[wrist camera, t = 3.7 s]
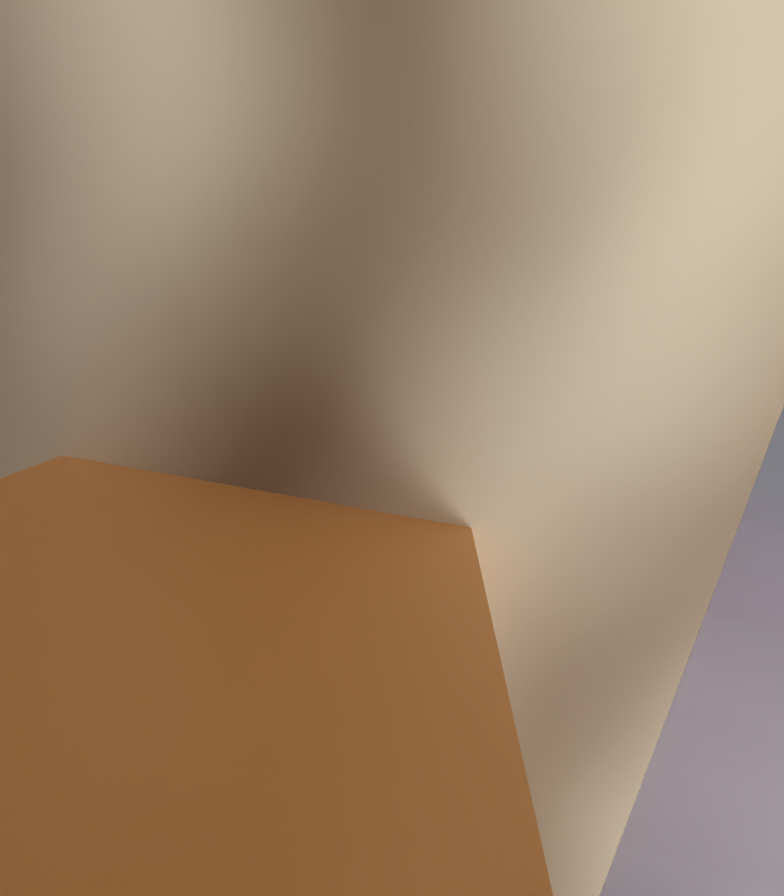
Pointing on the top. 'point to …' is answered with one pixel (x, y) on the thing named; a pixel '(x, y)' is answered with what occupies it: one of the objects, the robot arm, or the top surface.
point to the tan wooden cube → (248, 697)
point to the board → (424, 304)
